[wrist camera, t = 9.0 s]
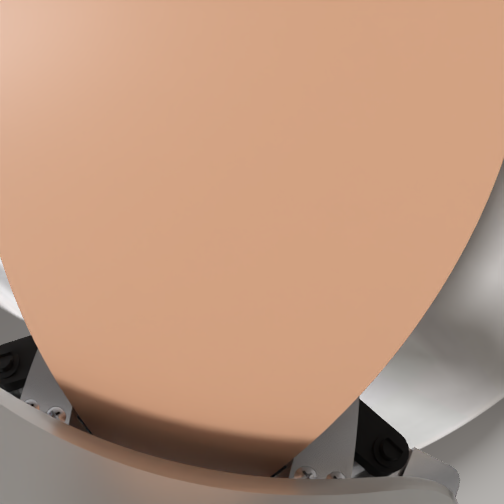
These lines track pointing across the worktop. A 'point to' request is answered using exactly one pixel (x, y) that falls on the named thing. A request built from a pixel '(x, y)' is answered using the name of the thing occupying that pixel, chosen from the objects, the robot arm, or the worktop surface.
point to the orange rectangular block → (238, 204)
